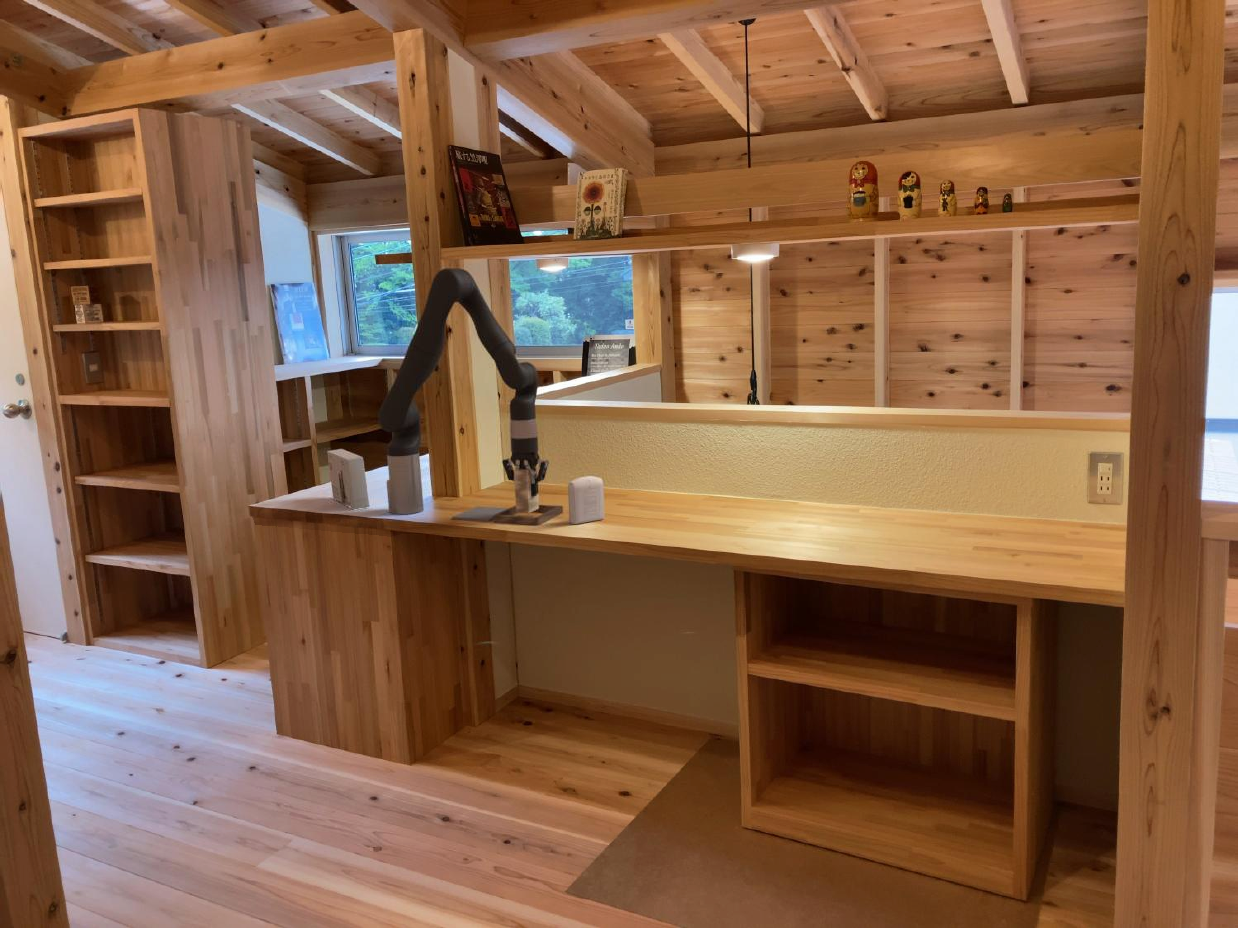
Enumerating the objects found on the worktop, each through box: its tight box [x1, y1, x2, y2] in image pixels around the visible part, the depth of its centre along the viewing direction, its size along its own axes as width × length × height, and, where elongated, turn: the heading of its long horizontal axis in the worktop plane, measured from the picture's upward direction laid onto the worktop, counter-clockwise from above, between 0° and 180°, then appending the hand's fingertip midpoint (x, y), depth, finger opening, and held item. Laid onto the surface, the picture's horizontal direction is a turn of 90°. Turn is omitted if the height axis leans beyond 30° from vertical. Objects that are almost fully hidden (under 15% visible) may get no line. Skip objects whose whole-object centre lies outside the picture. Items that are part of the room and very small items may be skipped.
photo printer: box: [567, 475, 605, 525], centre depth 262 cm, size 10×4×12 cm, turn 123°
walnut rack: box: [493, 504, 564, 526], centre depth 270 cm, size 14×15×2 cm
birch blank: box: [513, 466, 540, 514], centre depth 269 cm, size 4×6×12 cm, turn 157°
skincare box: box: [326, 448, 370, 510], centre depth 297 cm, size 21×5×16 cm, turn 33°
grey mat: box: [451, 505, 510, 522], centre depth 276 cm, size 12×14×1 cm
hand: (527, 495), depth 269 cm, fingers closed on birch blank, 4 cm apart
